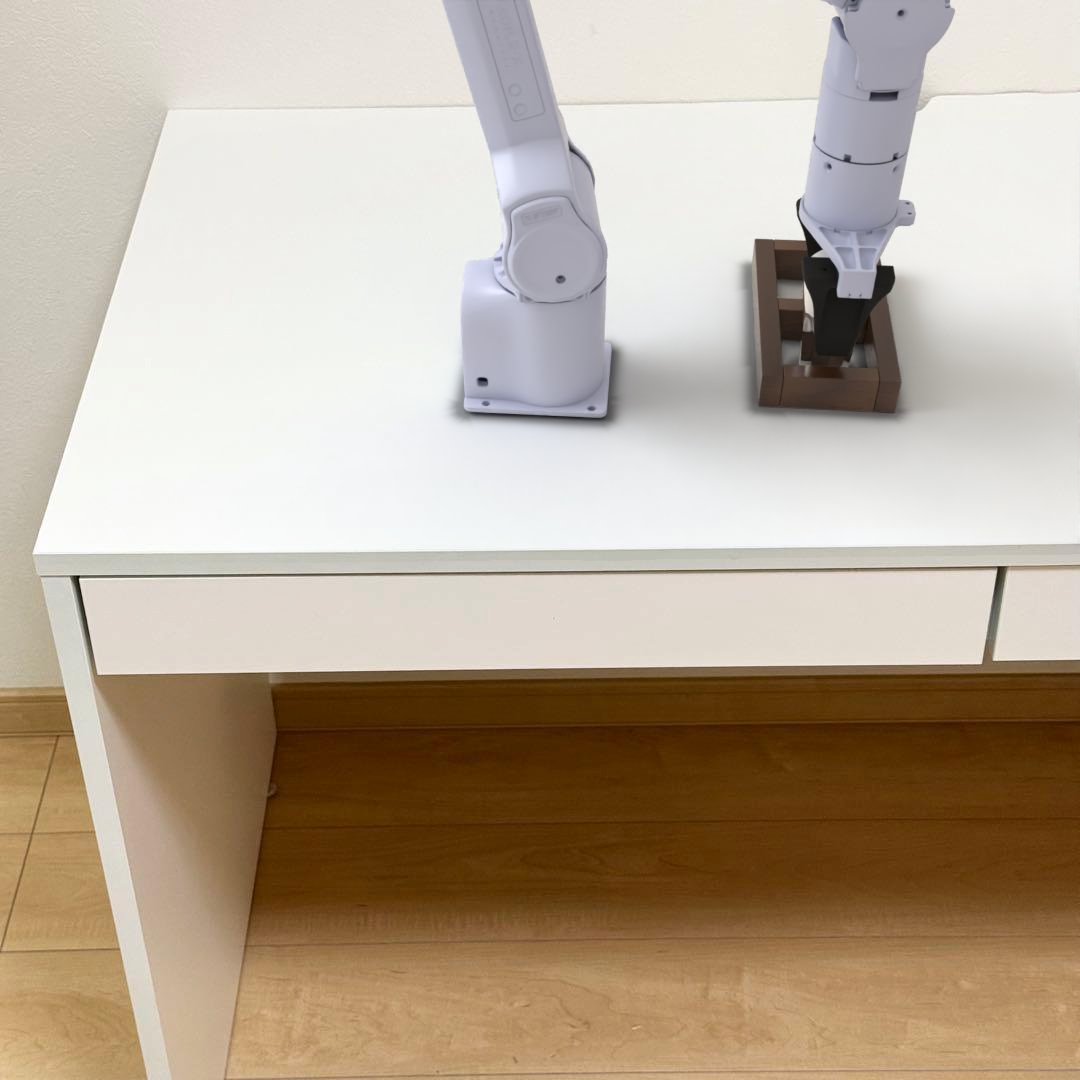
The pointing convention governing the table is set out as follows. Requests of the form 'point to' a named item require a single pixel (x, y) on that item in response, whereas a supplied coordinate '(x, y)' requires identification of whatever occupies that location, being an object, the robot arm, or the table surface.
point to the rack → (784, 323)
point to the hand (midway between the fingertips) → (828, 328)
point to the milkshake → (807, 335)
